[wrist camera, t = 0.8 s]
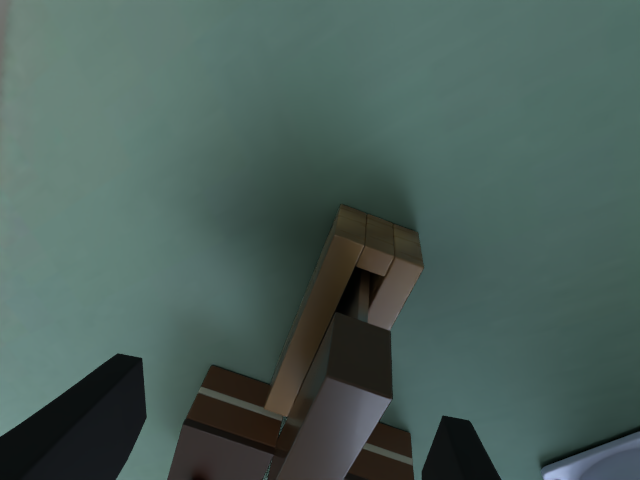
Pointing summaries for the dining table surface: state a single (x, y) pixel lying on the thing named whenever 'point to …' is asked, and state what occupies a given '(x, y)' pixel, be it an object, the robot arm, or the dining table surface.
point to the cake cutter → (338, 394)
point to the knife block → (329, 284)
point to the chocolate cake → (384, 456)
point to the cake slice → (226, 431)
